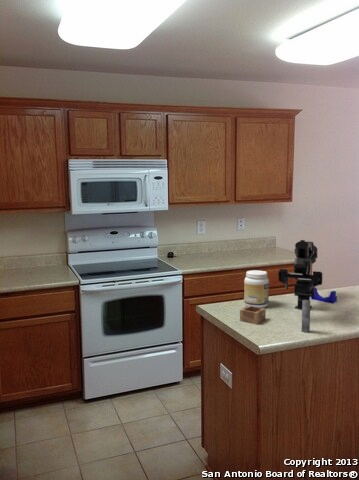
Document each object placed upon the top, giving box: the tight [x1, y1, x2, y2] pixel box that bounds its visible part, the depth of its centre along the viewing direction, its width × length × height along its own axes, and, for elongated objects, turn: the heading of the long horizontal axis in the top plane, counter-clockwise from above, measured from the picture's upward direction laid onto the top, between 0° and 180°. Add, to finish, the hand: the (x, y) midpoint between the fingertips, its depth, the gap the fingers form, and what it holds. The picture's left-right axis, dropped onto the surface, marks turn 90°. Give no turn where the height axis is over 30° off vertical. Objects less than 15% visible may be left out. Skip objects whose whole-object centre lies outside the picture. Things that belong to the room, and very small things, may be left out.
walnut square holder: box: [239, 306, 266, 325], centre depth 189 cm, size 8×8×5 cm
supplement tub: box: [243, 269, 270, 308], centre depth 210 cm, size 12×12×17 cm
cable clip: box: [310, 286, 338, 305], centre depth 216 cm, size 12×4×6 cm, turn 45°
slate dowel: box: [301, 299, 311, 334], centre depth 173 cm, size 3×3×13 cm
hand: (298, 289), depth 180 cm, fingers open, 9 cm apart
